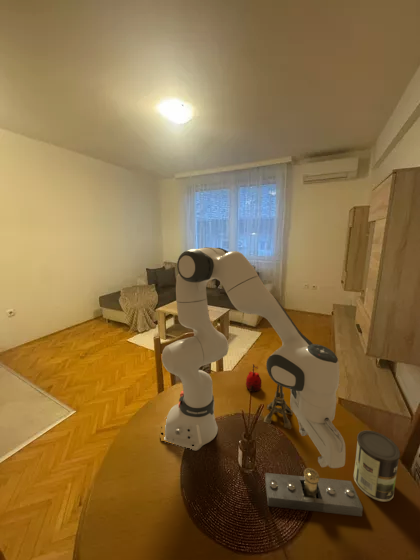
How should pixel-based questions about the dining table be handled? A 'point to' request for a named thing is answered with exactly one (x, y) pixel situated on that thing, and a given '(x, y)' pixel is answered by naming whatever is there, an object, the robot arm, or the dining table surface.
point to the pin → (310, 482)
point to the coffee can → (376, 465)
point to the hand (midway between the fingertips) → (312, 448)
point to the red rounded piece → (253, 381)
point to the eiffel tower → (279, 402)
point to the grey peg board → (330, 492)
